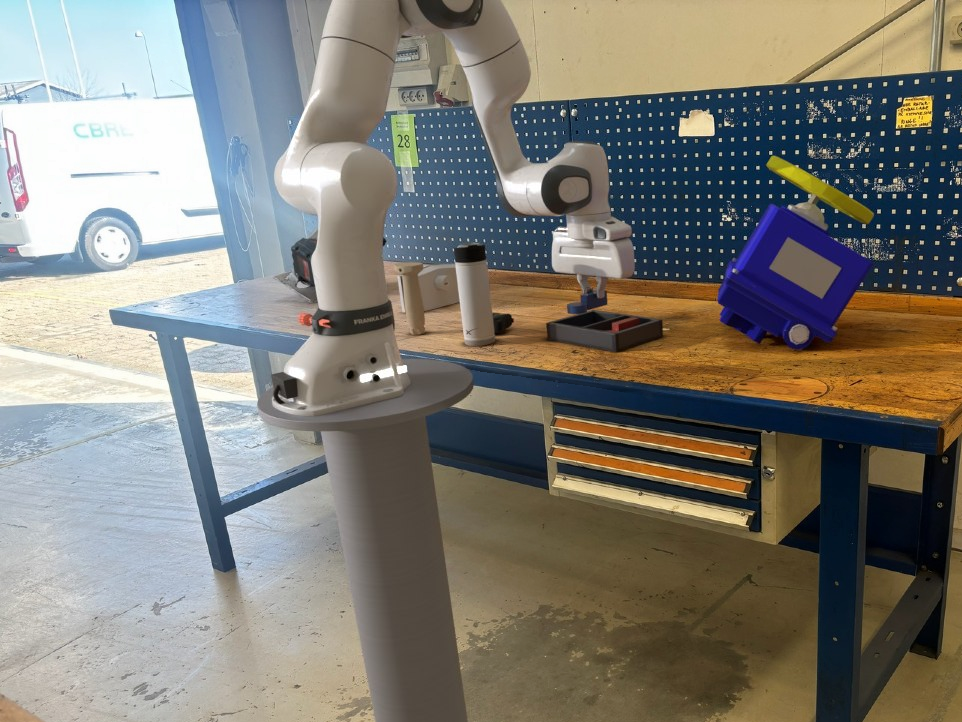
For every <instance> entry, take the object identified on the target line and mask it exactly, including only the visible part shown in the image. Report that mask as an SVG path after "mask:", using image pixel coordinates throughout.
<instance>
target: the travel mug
mask: <svg viewBox="0 0 962 722" xmlns="http://www.w3.org/2000/svg"><path fill="white" fill-rule="evenodd" d="M486 251H487V250H486V244H482V245H478V246H477V244H475V245H468V247H460V248H457V247H454V248H453V253H454V257H455V258H454V264H456V274H457V283H458V291H459V300H460V302H459V307H460V316H461V325H462V331H463V332H462V334H463V340H464V344H465V345H466V346H469V347H483V346H488V345H492V344H494V343H495V342H496V333H494V323H493V314H492V313H493V305H492V296H491V286H490V277H489V267H488V263H487V262H488V259H487V255H486V254H487V252H486Z"/></svg>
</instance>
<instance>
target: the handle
mask: <svg viewBox="0 0 962 722" xmlns="http://www.w3.org/2000/svg"><path fill="white" fill-rule="evenodd" d="M423 266H424V263H423V262H417V261H416V262H415V261H411V262H410V261H408V262H400V263H399V262H398V263H394V264H393V268H394V271H395V272H396V273H397V274H399V275H402V280H403V289H404V301H405V311H406V313H405V316H406V321H407V326H408V327H409V332H410V334H411V335H412V336H417V335H418V336H419V335H423V334H425V333H426V327H425V325H426V319H425V317H426V316H425V311H424V307H423V301H422V296H421V291H420V286H419V280H418V273H420V272H421V271H422V270H423Z"/></svg>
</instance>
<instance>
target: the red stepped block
mask: <svg viewBox="0 0 962 722" xmlns="http://www.w3.org/2000/svg"><path fill="white" fill-rule="evenodd" d="M638 325H639V318H635V317H631V318H627V319H624V320H621V321H617V322H614V323H612V330H607V331H608V332H614V333H615V332H619V331H622V330H625V329H628V328H631V327H635V326H638Z"/></svg>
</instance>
